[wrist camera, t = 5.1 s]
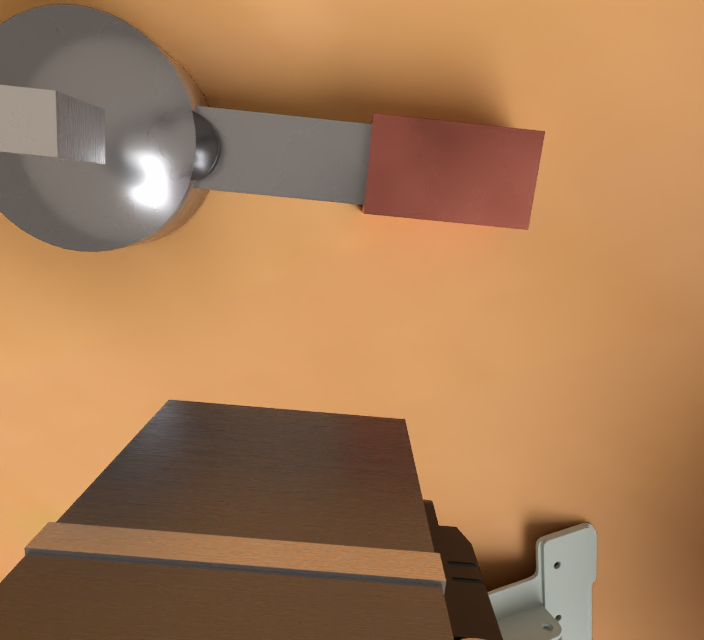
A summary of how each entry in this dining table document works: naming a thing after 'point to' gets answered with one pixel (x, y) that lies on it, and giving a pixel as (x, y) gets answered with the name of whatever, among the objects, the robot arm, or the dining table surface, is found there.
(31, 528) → the dining table surface
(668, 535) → the dining table surface
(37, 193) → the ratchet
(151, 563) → the grey block
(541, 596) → the metal bracket
